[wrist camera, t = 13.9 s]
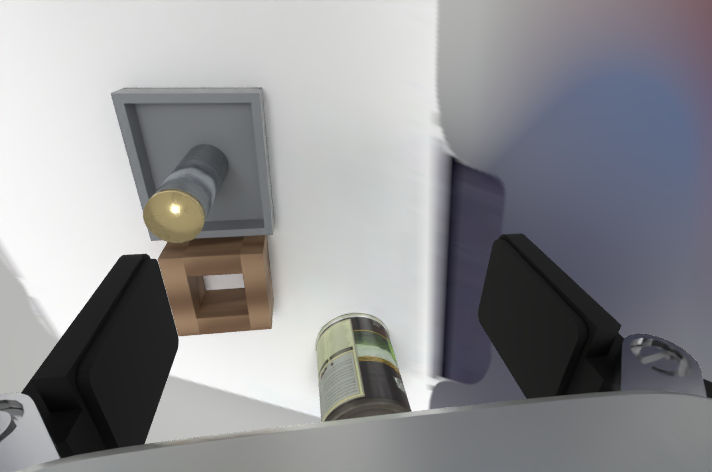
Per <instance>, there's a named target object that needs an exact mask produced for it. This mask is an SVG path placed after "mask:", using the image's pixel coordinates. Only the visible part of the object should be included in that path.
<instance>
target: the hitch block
mask: <svg viewBox="0 0 712 472" xmlns="http://www.w3.org/2000/svg"><path fill="white" fill-rule="evenodd" d="M158 262H159V265H160V269H161V273H162V276H163V280H164V284H165V288H166V291H167V295H168V299H169V302H170V306H171V310H172V313H173V317H174V321H175V324H176V328H177V332H178V335H179V336H188V335H200V334H213V333H225V332H237V331H249V330H262V329H272V315H273V292H272V282H271V273H270V264H269V254H268V245H267V235H255V236H235V237H215V238H195V239H192V240H190V241H188V242H184V243H171V242H167V244H166V246H165V247H164V249H163V251H162V253H161V255H160V256H159V258H158ZM239 273H243V279H244V286H245V288H239V289H224V290H209V291H205V286H204V281H203V277H202V276H207V275H223V274H239Z"/></svg>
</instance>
